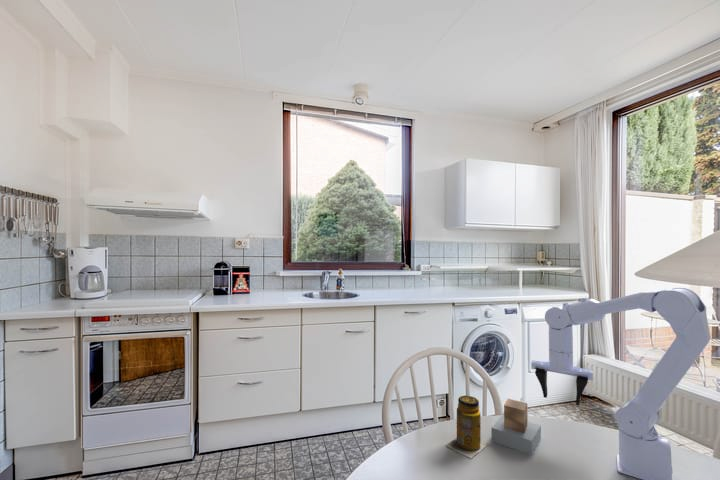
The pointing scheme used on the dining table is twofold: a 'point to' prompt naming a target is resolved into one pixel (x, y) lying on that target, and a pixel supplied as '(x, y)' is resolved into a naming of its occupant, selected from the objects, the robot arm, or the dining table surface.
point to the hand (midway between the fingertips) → (561, 400)
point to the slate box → (517, 436)
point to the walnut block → (515, 415)
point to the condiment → (468, 427)
